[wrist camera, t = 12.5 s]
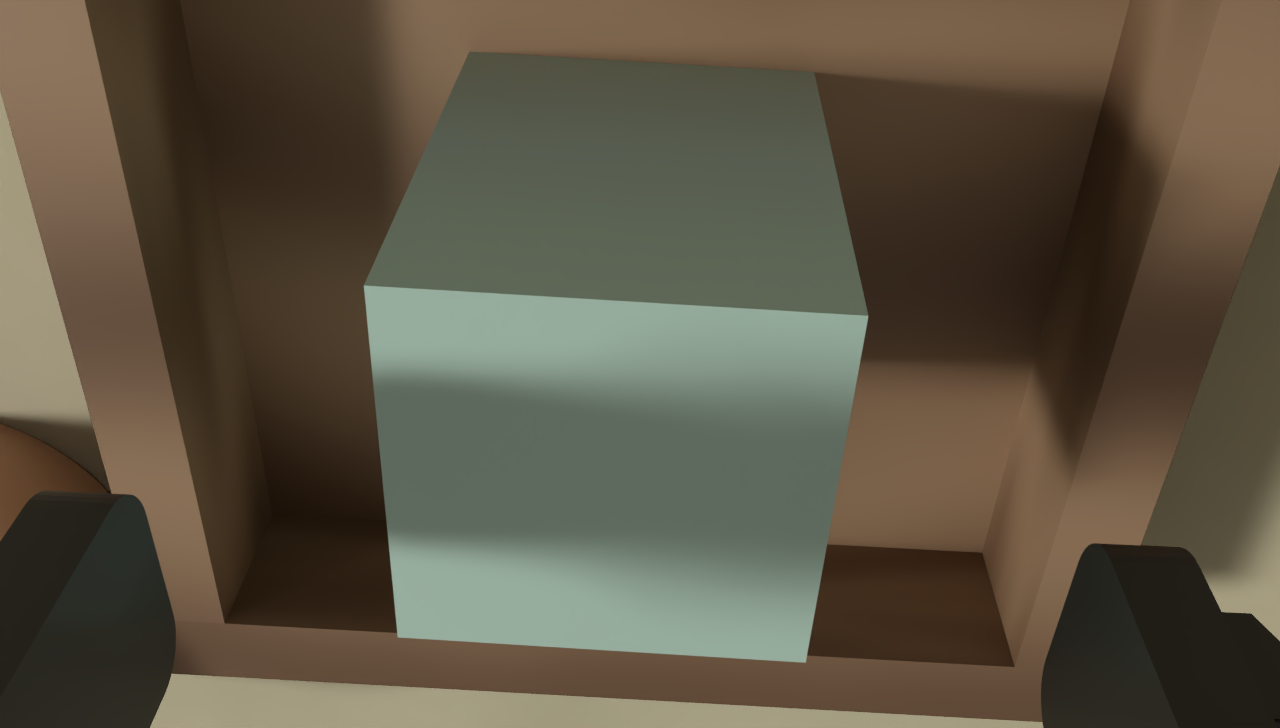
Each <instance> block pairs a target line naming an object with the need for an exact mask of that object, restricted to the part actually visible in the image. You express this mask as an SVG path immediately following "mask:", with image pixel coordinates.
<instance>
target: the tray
mask: <svg viewBox="0 0 1280 728" xmlns="http://www.w3.org/2000/svg"><path fill="white" fill-rule="evenodd" d="M469 52H483V53H500V54H517V55H534V56H551V57H568V58H585V59H602V60H619V61H636V62H653V63H670V64H687V65H703V66H720V67H737V68H754V69H771V70H788V71H805V72H814V74H815V78H816V83H817V87H818V92H819V96H820V101H821V105H822V110H823V114H824V119H825V123H826V128H827V132H828V137H829V141H830V145H831V150H832V154H833V159H834V163H835V168H836V172H837V177H838V181H839V186H840V190H841V195H842V199H843V204H844V208H845V213H846V217H847V222H848V226H849V231H850V235H851V240H852V244H853V249H854V253H855V258H856V262H857V267H858V271H859V276H860V280H861V284H862V289H863V293H864V298H865V302H866V307H867V311H868V321H867V327H866V332H865V338H864V344H863V349H862V355H861V360H860V366H859V371H858V377H857V382H856V388H855V393H854V399H853V404H852V410H851V415H850V421H849V426H848V432H847V437H846V443H845V448H844V454H843V459H842V465H841V470H840V476H839V481H838V487H837V493H836V498H835V504H834V509H833V515H832V520H831V526H830V531H829V537H828V542H827V548H826V553H825V559H824V564H823V570H822V575H821V581H820V586H819V592H818V597H817V603H816V608H815V614H814V619H813V625H812V630H811V636H810V642H809V647H808V653H807V658H806V663H802V662H786V661H770V660H754V659H738V658H722V657H706V656H690V655H673V654H657V653H641V652H625V651H609V650H593V649H577V648H561V647H544V646H528V645H512V644H496V643H480V642H464V641H448V640H432V639H416V638H399V637H398V635H397V625H396V614H395V604H394V594H393V583H392V573H391V563H390V552H389V542H388V531H387V521H386V511H385V500H384V490H383V480H382V469H381V459H380V448H379V438H378V428H377V417H376V407H375V397H374V386H373V376H372V366H371V355H370V345H369V334H368V324H367V314H366V303H365V293H364V284H365V282H366V279H367V277H368V275H369V273H370V271H371V268H372V266H373V264H374V262H375V260H376V257H377V255H378V253H379V251H380V248H381V246H382V244H383V242H384V240H385V237H386V235H387V233H388V231H389V228H390V226H391V224H392V222H393V220H394V217H395V215H396V213H397V211H398V209H399V206H400V204H401V202H402V200H403V197H404V195H405V193H406V191H407V189H408V186H409V184H410V182H411V180H412V178H413V175H414V173H415V171H416V169H417V166H418V164H419V162H420V160H421V158H422V155H423V153H424V151H425V149H426V146H427V144H428V142H429V140H430V138H431V135H432V133H433V131H434V129H435V127H436V124H437V122H438V120H439V118H440V115H441V113H442V111H443V109H444V107H445V104H446V102H447V100H448V98H449V95H450V93H451V91H452V89H453V87H454V84H455V82H456V80H457V78H458V76H459V73H460V71H461V69H462V67H463V64H464V62H465V60H466V58H467V56H468V53H469ZM0 91H1V95H2V98H3V102H4V106H5V109H6V113H7V117H8V120H9V124H10V127H11V131H12V135H13V138H14V142H15V146H16V149H17V153H18V156H19V160H20V164H21V167H22V171H23V175H24V178H25V182H26V185H27V189H28V193H29V196H30V200H31V203H32V207H33V211H34V214H35V218H36V222H37V225H38V229H39V232H40V236H41V240H42V243H43V247H44V251H45V254H46V258H47V261H48V265H49V269H50V272H51V276H52V280H53V283H54V287H55V290H56V294H57V298H58V301H59V305H60V309H61V312H62V316H63V319H64V323H65V327H66V330H67V334H68V338H69V341H70V345H71V348H72V352H73V356H74V359H75V363H76V367H77V370H78V374H79V377H80V381H81V385H82V388H83V392H84V395H85V399H86V403H87V406H88V410H89V414H90V417H91V421H92V424H93V428H94V432H95V435H96V439H97V443H98V446H99V450H100V453H101V457H102V461H103V464H104V468H105V472H106V475H107V479H108V482H109V486H110V490H111V493H112V494H129V495H134V496H135V497H137V498H138V499H139V500H140V501H141V503H142V505H143V507H144V509H145V512H146V515H147V519H148V522H149V526H150V530H151V533H152V537H153V541H154V544H155V548H156V552H157V555H158V559H159V563H160V566H161V570H162V574H163V577H164V581H165V585H166V588H167V592H168V596H169V600H170V603H171V607H172V611H173V614H174V619H175V627H176V649H175V658H174V664H173V669H172V674H190V675H208V676H226V677H244V678H262V679H280V680H298V681H316V682H334V683H352V684H370V685H388V686H406V687H424V688H442V689H460V690H478V691H495V692H513V693H531V694H549V695H567V696H585V697H603V698H621V699H639V700H657V701H675V702H693V703H711V704H729V705H747V706H765V707H783V708H801V709H819V710H837V711H854V712H872V713H890V714H908V715H926V716H944V717H962V718H980V719H998V720H1016V721H1034V722H1043V720H1042V711H1041V682H1042V674H1043V668H1044V664H1045V660H1046V657H1047V654H1048V651H1049V648H1050V645H1051V642H1052V639H1053V636H1054V633H1055V630H1056V627H1057V624H1058V621H1059V618H1060V615H1061V612H1062V609H1063V606H1064V603H1065V600H1066V598H1067V595H1068V592H1069V589H1070V586H1071V583H1072V580H1073V577H1074V574H1075V571H1076V568H1077V565H1078V562H1079V559H1080V557H1081V555H1082V553H1083V551H1084V550H1085V548H1086V547H1087V546H1088V545H1090V544H1093V543H1099V544H1121V545H1141V543H1142V540H1143V538H1144V535H1145V532H1146V529H1147V527H1148V524H1149V521H1150V519H1151V516H1152V513H1153V510H1154V508H1155V505H1156V502H1157V499H1158V497H1159V494H1160V491H1161V489H1162V486H1163V483H1164V480H1165V478H1166V475H1167V472H1168V469H1169V467H1170V464H1171V461H1172V459H1173V456H1174V453H1175V450H1176V448H1177V445H1178V442H1179V439H1180V437H1181V434H1182V431H1183V429H1184V426H1185V423H1186V420H1187V418H1188V415H1189V412H1190V409H1191V407H1192V404H1193V401H1194V399H1195V396H1196V393H1197V390H1198V388H1199V385H1200V382H1201V379H1202V377H1203V374H1204V371H1205V369H1206V366H1207V363H1208V360H1209V358H1210V355H1211V352H1212V349H1213V347H1214V344H1215V341H1216V338H1217V336H1218V333H1219V330H1220V328H1221V325H1222V322H1223V319H1224V317H1225V314H1226V311H1227V308H1228V306H1229V303H1230V300H1231V298H1232V295H1233V292H1234V289H1235V287H1236V284H1237V281H1238V278H1239V276H1240V273H1241V270H1242V268H1243V265H1244V262H1245V259H1246V257H1247V254H1248V251H1249V248H1250V246H1251V243H1252V240H1253V238H1254V235H1255V232H1256V229H1257V227H1258V224H1259V221H1260V218H1261V216H1262V213H1263V210H1264V208H1265V205H1266V202H1267V199H1268V197H1269V194H1270V191H1271V188H1272V186H1273V183H1274V180H1275V178H1276V175H1277V172H1278V169H1279V167H1280V0H0Z"/></svg>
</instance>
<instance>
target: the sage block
mask: <svg viewBox="0 0 1280 728" xmlns="http://www.w3.org/2000/svg"><path fill="white" fill-rule="evenodd" d="M364 293H365V303H366V314H367V324H368V334H369V345H370V355H371V366H372V376H373V386H374V397H375V407H376V417H377V428H378V438H379V448H380V459H381V469H382V480H383V490H384V500H385V511H386V521H387V531H388V542H389V552H390V563H391V573H392V583H393V594H394V604H395V614H396V625H397V635H398V637H399V638H416V639H432V640H448V641H464V642H480V643H496V644H512V645H528V646H544V647H561V648H577V649H593V650H609V651H625V652H641V653H657V654H673V655H690V656H706V657H722V658H738V659H754V660H770V661H786V662H802V663H806V658H807V653H808V647H809V642H810V636H811V630H812V625H813V619H814V614H815V608H816V603H817V597H818V592H819V586H820V581H821V575H822V570H823V564H824V559H825V553H826V548H827V542H828V537H829V531H830V526H831V520H832V515H833V509H834V504H835V498H836V493H837V487H838V481H839V476H840V470H841V465H842V459H843V454H844V448H845V443H846V437H847V432H848V426H849V421H850V415H851V410H852V404H853V399H854V393H855V388H856V382H857V377H858V371H859V366H860V360H861V355H862V349H863V344H864V338H865V332H866V327H867V321H868V311H867V307H866V302H865V298H864V293H863V289H862V284H861V280H860V276H859V271H858V267H857V262H856V258H855V253H854V249H853V244H852V240H851V235H850V231H849V226H848V222H847V217H846V213H845V208H844V204H843V199H842V195H841V190H840V186H839V181H838V177H837V172H836V168H835V163H834V159H833V154H832V150H831V145H830V141H829V137H828V132H827V128H826V123H825V119H824V114H823V110H822V105H821V101H820V96H819V92H818V87H817V83H816V78H815V74H814V72H805V71H788V70H771V69H754V68H737V67H720V66H703V65H687V64H670V63H653V62H636V61H619V60H602V59H585V58H568V57H551V56H534V55H517V54H500V53H483V52H469V53H468V56H467V58H466V60H465V62H464V64H463V67H462V69H461V71H460V73H459V76H458V78H457V80H456V82H455V84H454V87H453V89H452V91H451V93H450V95H449V98H448V100H447V102H446V104H445V107H444V109H443V111H442V113H441V115H440V118H439V120H438V122H437V124H436V127H435V129H434V131H433V133H432V135H431V138H430V140H429V142H428V144H427V146H426V149H425V151H424V153H423V155H422V158H421V160H420V162H419V164H418V166H417V169H416V171H415V173H414V175H413V178H412V180H411V182H410V184H409V186H408V189H407V191H406V193H405V195H404V197H403V200H402V202H401V204H400V206H399V209H398V211H397V213H396V215H395V217H394V220H393V222H392V224H391V226H390V228H389V231H388V233H387V235H386V237H385V240H384V242H383V244H382V246H381V248H380V251H379V253H378V255H377V257H376V260H375V262H374V264H373V266H372V268H371V271H370V273H369V275H368V277H367V279H366V282H365V284H364Z"/></svg>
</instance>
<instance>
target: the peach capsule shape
mask: <svg viewBox="0 0 1280 728" xmlns="http://www.w3.org/2000/svg"><path fill="white" fill-rule="evenodd" d="M41 491H67V492H88V493H108V492H107V491H106V490H105V489H104V487H103V486H102V485H101V484H100V483H99V482H98V481H97V480H96V479H94V478H93V477H92V476H91V475H90V474H89V473H88V472H86V471H85V470H84V469H83V468H82V467H80V466H79V465H78V464H76V463H75V462H73V461H72V460H71V459H69V458H68V457H67V456H65V455H64V454H62V453H61V452H59V451H57V450H56V449H54V448H52V447H50V446H49V445H47V444H45V443H44V442H42V441H40V440H38V439H36V438H33V437H31V436H29V435H27V434H25V433H23V432H21V431H18V430H16V429H13V428H10V427H8V426H5V425H2V424H0V541H1V540H2V538H3V537H4V535H5V534H6V532H7V531H8V529H9V528H10V526H11V525H12V523H13V522H14V520H15V519H16V517H17V516H18V514H19V513H20V511H21V510H22V508H23V507H24V506H25V504H26V503H27V502H28V501H29V499H30V498H32V497H33V496H34V495H35V494H37V493H39V492H41Z"/></svg>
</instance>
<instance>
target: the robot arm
mask: <svg viewBox="0 0 1280 728" xmlns="http://www.w3.org/2000/svg"><path fill="white" fill-rule="evenodd" d="M175 649H176V627H175V619H174V614H173V611H172V607H171V603H170V600H169V596H168V592H167V588H166V585H165V581H164V577H163V574H162V570H161V566H160V563H159V559H158V555H157V552H156V548H155V544H154V541H153V537H152V533H151V530H150V526H149V522H148V519H147V515H146V512H145V509H144V507H143V505H142V503H141V501H140V500H139V499H138V498H137V497H135V496H134V495H129V494H109V493H88V492H67V491H41V492H39V493H37V494H35V495H34V496H33V497H32V498H30V499H29V501H28V502H27V503H26V504H25V506H24V507H23V508H22V510H21V511H20V513H19V514H18V516H17V517H16V519H15V520H14V522H13V523H12V525H11V526H10V528H9V529H8V531H7V532H6V534H5V535H4V537H3V538H2V540H1V541H0V728H150V726H151V723H152V721H153V719H154V717H155V715H156V712H157V710H158V708H159V706H160V703H161V701H162V699H163V697H164V694H165V692H166V689H167V687H168V684H169V681H170V677H171V673H172V669H173V664H174V658H175ZM1041 711H1042V720H1043V727H1044V728H1280V641H1279V640H1278V639H1277V638H1276V637H1275V636H1274V635H1273V634H1272V633H1271V632H1269V631H1268V630H1267V629H1266V628H1265V627H1264V626H1263V625H1262V624H1261V623H1260V622H1259V621H1258V620H1257V619H1256V618H1255V617H1254V616H1253V615H1252V614H1246V613H1225V612H1221V610H1220V608H1219V606H1218V604H1217V602H1216V600H1215V598H1214V596H1213V594H1212V592H1211V590H1210V588H1209V586H1208V583H1207V581H1206V579H1205V577H1204V575H1203V573H1202V571H1201V569H1200V567H1199V565H1198V563H1197V562H1196V560H1195V558H1194V557H1193V556H1192V554H1191V553H1190V552H1188V551H1187V550H1186V549H1184V548H1181V547H1163V546H1142V545H1121V544H1099V543H1093V544H1090V545H1088V546H1087V547H1086V548H1085V550H1084V551H1083V553H1082V555H1081V557H1080V559H1079V562H1078V565H1077V568H1076V571H1075V574H1074V577H1073V580H1072V583H1071V586H1070V589H1069V592H1068V595H1067V598H1066V600H1065V603H1064V606H1063V609H1062V612H1061V615H1060V618H1059V621H1058V624H1057V627H1056V630H1055V633H1054V636H1053V639H1052V642H1051V645H1050V648H1049V651H1048V654H1047V657H1046V660H1045V664H1044V668H1043V674H1042V682H1041Z"/></svg>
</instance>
